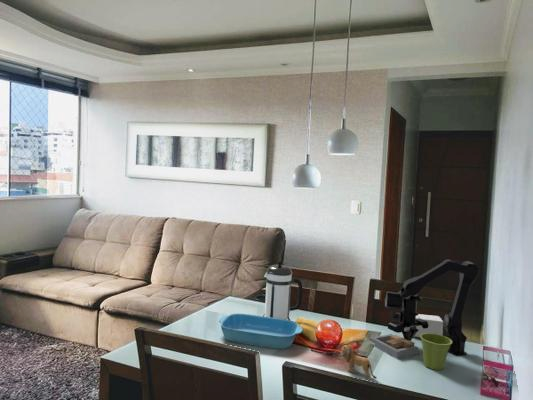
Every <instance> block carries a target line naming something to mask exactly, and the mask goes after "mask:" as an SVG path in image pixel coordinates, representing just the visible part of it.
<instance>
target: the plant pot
mask: <svg viewBox="0 0 533 400" xmlns="http://www.w3.org/2000/svg"><path fill="white" fill-rule="evenodd" d="M419 338H420V339H421V344H422V357H423V358H422V359H423V365H424V366H425V367H426V368H430V369H431V370H436V371H441V370H442V369H444V367H445V363H446V360H447V355H448V353H449V352H448V349H449V348H450V344H452V340H451V339H449V338H448V336H445V335H443V334H442V335H439V334H433V333H424V334H421V335H420V337H419Z"/></svg>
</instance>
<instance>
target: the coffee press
mask: <svg viewBox="0 0 533 400" xmlns="http://www.w3.org/2000/svg"><path fill="white" fill-rule="evenodd" d="M292 275H293V271H292V268H291V267H290V266H287V265H283V261H282V260H278V261H277V264H273V265H269V267H267V269H266V272H265V274H264V276H263V277H264V278H266V280H265V282H266V287H265V306H264V307H265V308H264V313H263V315H262V316H264V317H271V318H278V319H284V320H290V321H291V318H290V312H292V311H293V312H294V311H297V310H298V309H300V307H301V305H302V303H303V302H302V298H303V283H302V281H301V280H300V279H298V278H295V277H294V278H292V277H293V276H292ZM292 283H297V286H298V293H297V303H296V304H295V306H291V290H292Z"/></svg>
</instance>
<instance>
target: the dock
mask: <svg viewBox="0 0 533 400" xmlns="http://www.w3.org/2000/svg"><path fill="white" fill-rule="evenodd" d="M393 335H394V334H392V333H390V334H383V335H377V336H369V337H368V338H369V339H368V341H369V340H370V341H372V342H373V343H375V348H377V349H378V350H380V351H382V352H383V353H385V354H386V355H389V356H391V357H393V358H394V359H396V360H399V359H400V358H406V357H412V356H417V355H419V347H418V346H417V345H414V346H413V347H408V348H402V349H395V348H393V347H391V346H389V345H387V344H386V342H387V341H389V340H390V336H393Z"/></svg>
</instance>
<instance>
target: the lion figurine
mask: <svg viewBox="0 0 533 400" xmlns="http://www.w3.org/2000/svg"><path fill="white" fill-rule="evenodd" d="M340 357H342V358H343V359H344V360H345V361H346V362H347V363H348V367H349V369H347V371H348V372H349V373H351V372H352V371H353V370H355V366H357V367H361V368H362V369H363V371H364V375H365V376H366V378H365V380H368V379H369V380H370V379H371V376H372V378H374V379H377V376H375V375H374V374H373V370H372V365H371V361H370V359H368V358H367V357H363V356H360V355H359V354H358V353H357V351H356V350H355V349H353V348H352V347H351V346H350V345H348V344H347V345H346V344H345V345H342V347H341V351H340ZM369 370H370V371H369ZM370 374H371V375H370Z"/></svg>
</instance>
